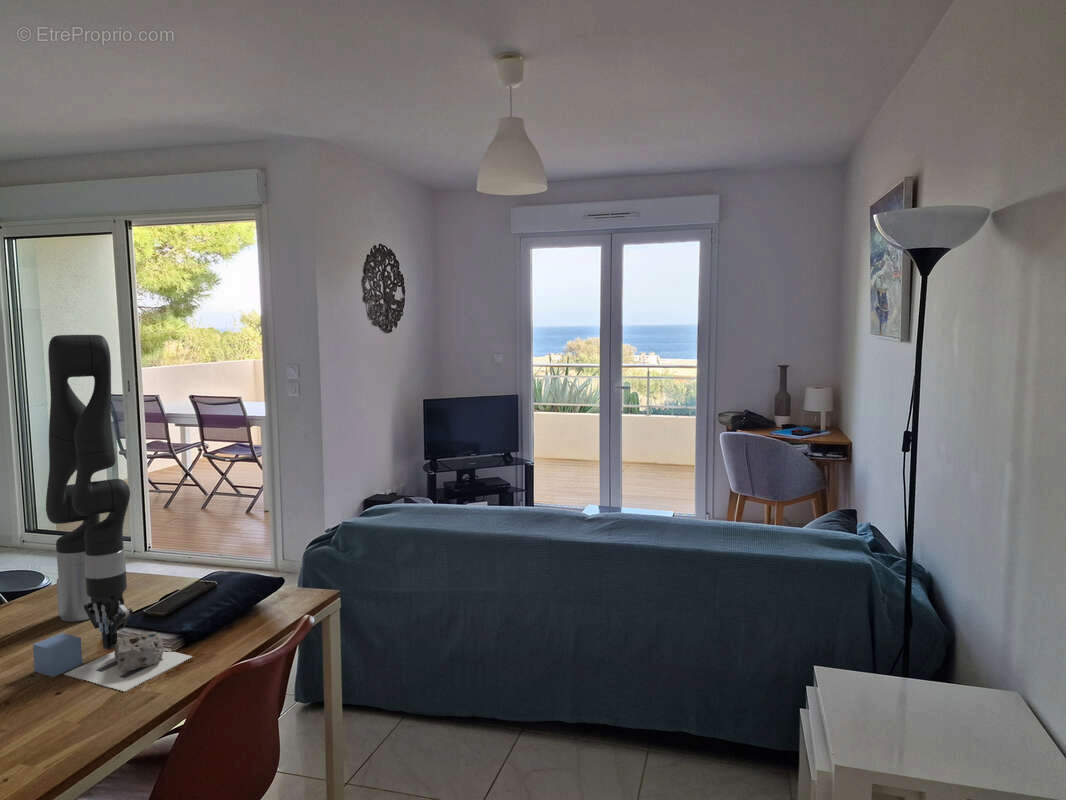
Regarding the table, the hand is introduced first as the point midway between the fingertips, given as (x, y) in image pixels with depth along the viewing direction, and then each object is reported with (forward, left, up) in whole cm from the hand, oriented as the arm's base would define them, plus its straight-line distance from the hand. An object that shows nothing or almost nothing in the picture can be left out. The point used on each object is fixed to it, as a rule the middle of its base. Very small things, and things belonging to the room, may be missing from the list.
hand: (110, 647), depth 151 cm
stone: (+9, 0, -2) cm, 9 cm away
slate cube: (-4, -8, -2) cm, 10 cm away
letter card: (+9, -2, -2) cm, 9 cm away
